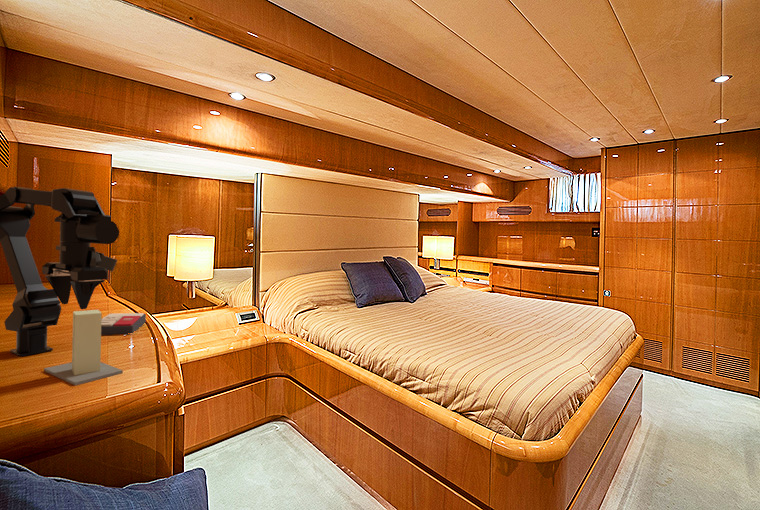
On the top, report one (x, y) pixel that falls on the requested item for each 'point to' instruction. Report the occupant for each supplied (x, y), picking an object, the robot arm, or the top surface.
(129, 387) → the top surface
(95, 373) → the mat
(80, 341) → the block
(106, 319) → the black red white box
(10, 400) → the top surface
